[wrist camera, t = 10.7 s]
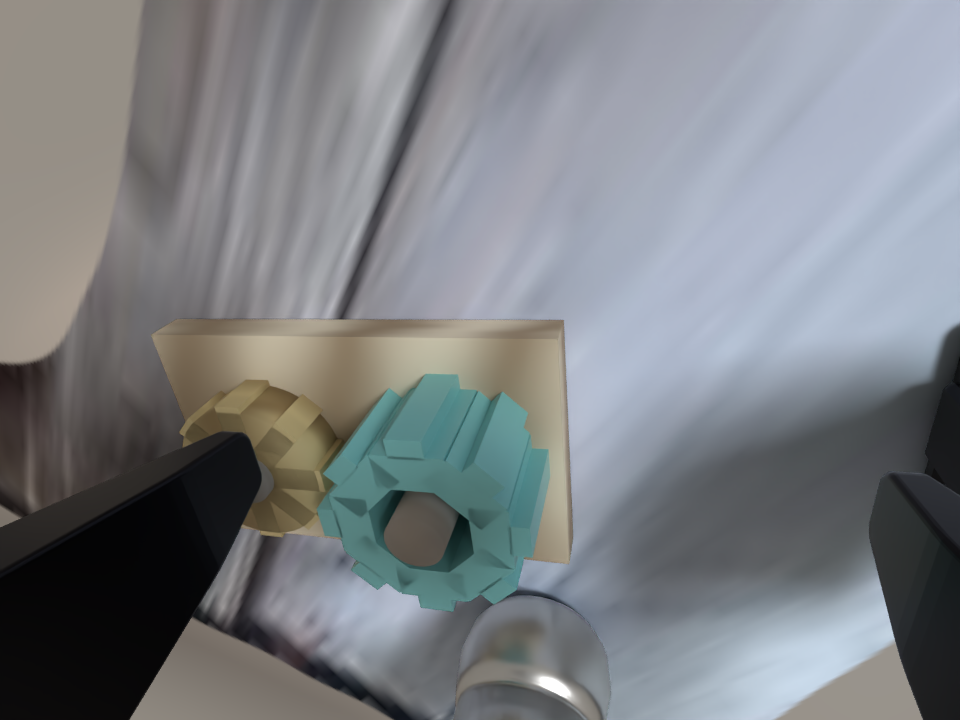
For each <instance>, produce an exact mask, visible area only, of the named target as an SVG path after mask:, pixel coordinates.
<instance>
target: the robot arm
mask: <svg viewBox="0 0 960 720" xmlns="http://www.w3.org/2000/svg"><path fill="white" fill-rule="evenodd" d="M925 454H926V456H927V458H928V459H929V461H928V465H927V468H926V471H925V474H923V473H912V472H895V471H890V472H888V473H886V474H884V475H883V477H882V478H881V481H880V484H879V487H878V491H877V495H876V499H875V503H874V506H873V510H872V514H871V518H870V522H869V538H870V543H871V547H872V551H873V555H874V559H875V563H876V567H877V571H878V575H879V579H880V583H881V587H882V591H883V595H884V598H885V602H886V606H887V610H888V614H889V618H890V622H891V626H892V630H893V634H894V638H895V642H896V645H897V649H898V652H899V656H900V659H901V662H902V665H903V668H904V671H905V674H906V676H907V679H908V682H909V685H910V687H911V690H912V692H913V695H914V698H915V700H916V703H917V705H918V708H919V711H920V713H921V716H922V718H923V720H960V359H959V362H958V365H957V369H956V372H955V375H954V379H953V382H952V383H950V384H949V385H948V386H947V387H946V388H945V389H944V390H943V393H942V396H941V399H940V403H939V406H938V409H937V413H936V416H935V420H934V423H933V426H932V430H931V433H930V436H929V440H928V443H927V447H926V450H925ZM261 483H262V472H261V469H260V466H259V463H258V460H257V457H256V454H255V451H254V449H253V446H252V443H251V440H250V438H249V437H248V436H247V435H246V434H245V433H243V432H233V431H221V432H217V433H215V434H213V435H210V436H208V437H206V438H203V439H201V440H199V441H197V442H194V443H192V444H190V445H188V446H185V447H183V448H181V449H178V450H176V451H174V452H172V453H169V454H167V455H165V456H162V457H160V458H158V459H156V460H153V461H151V462H149V463H146V464H144V465H142V466H140V467H137V468H135V469H133V470H130V471H128V472H126V473H124V474H121V475H119V476H117V477H114V478H112V479H110V480H108V481H105V482H103V483H101V484H98V485H96V486H94V487H92V488H89V489H87V490H85V491H82V492H80V493H78V494H76V495H73V496H71V497H69V498H67V499H64V500H62V501H60V502H57V503H55V504H53V505H51V506H48V507H46V508H44V509H41V510H39V511H37V512H35V513H32V514H30V515H28V516H25V517H23V518H21V519H19V520H16V521H14V522H12V523H9V524H7V525H5V526H3V527H0V720H130V718H131V716H132V715H133V713H134V711H135V710H136V708H137V706H138V705H139V703H140V702H141V700H142V698H143V697H144V695H145V693H146V692H147V690H148V688H149V687H150V685H151V683H152V682H153V680H154V678H155V677H156V675H157V674H158V672H159V670H160V669H161V667H162V665H163V664H164V662H165V660H166V659H167V657H168V655H169V654H170V652H171V650H172V649H173V647H174V646H175V644H176V642H177V641H178V639H179V637H180V636H181V634H182V632H183V631H184V629H185V627H186V626H187V624H188V622H189V621H190V619H191V618H192V616H193V614H194V613H195V611H196V609H197V608H198V606H199V604H200V603H201V601H202V599H203V598H204V596H205V594H206V593H207V591H208V590H209V588H210V586H211V585H212V583H213V581H214V579H215V578H216V576H217V574H218V572H219V571H220V569H221V567H222V565H223V563H224V561H225V559H226V557H227V555H228V553H229V551H230V549H231V547H232V545H233V543H234V541H235V539H236V537H237V535H238V533H239V530H240V528H241V526H242V524H243V522H244V520H245V518H246V516H247V514H248V512H249V510H250V508H251V506H252V504H253V502H254V500H255V497H256V495H257V493H258V491H259V489H260V487H261ZM943 484H945V485H946V486H944V485H943Z"/></svg>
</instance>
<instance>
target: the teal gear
mask: <svg viewBox="0 0 960 720" xmlns="http://www.w3.org/2000/svg"><path fill="white" fill-rule="evenodd" d="M527 415H528V412H526V411H525V410H524V409H523V408H522V407H520V406H519V405H518V404H517V403H516V402H514V401H513V400H512V399H511V398H510V397H508V396H507V395H506V394H505V393H504V392H501V393H500V394H499V395H498V396H497V397H496V398H495V399H494V400H492V401H491V400H489V399H488V398H487V397H486V396H485V395H483V394H482V393H481V392H480V391H478V392H477V390H467V389H460V384H459V377H458V374H425V376H424V377H423V379H422V380H421V382H420V383H419V385H418V386H417V388H412V389H410V390H409V391H408V392H407V393H406V394H405V395H404V396H403V398H401V397H400V396H399V395H397V394H396V393H395V392H394V391H392V390H391V389H390V388H389V389H388V390H387V391H386V392H385V393H384V394H383V395H382V396H381V398H380V399H379V400H378V401H377V402H376V403H375V404H374V405H373V407H372V408H371V409H370V411H369V412H368V413H367V415H366V416H365V417H364V419H363V420H362V422H361V423H360V424H359V426H358V427H357V428H356V430H355V431H354V432H353V434H352V435H351V437H350V438H349V439H348V441H347V442H346V443H345V445H344V446H343V447H342V449H341V450H340V451H339V453H338V454H337V456H336V457H335V458H334V460H333V461H332V462H331V464H330V465H329V466H328V468H327V469H326V471H325V472H324V473H323V474H324V475H325V476H326V477H328V478H329V479H330V480H331V481H333V482H334V485H333V486H332V488H331V489H330V490H329V492H328V493H327V495H326V496H325V498H324V499H323V501H322V502H321V503H320V505H319V506H318V508H317V512H318V515H319V519H320V522H321V525H322V528H323V532H324V535H325V536H330V537H340V538H341V540H342V544H343V547H344V551H346V553H347V554H349V555H350V556H351V557H353V558H354V559H355V560H356V562H355V563H354V565H353V567H352V569H351V570H352V571H353V572H354V573H356V574H357V575H358V576H360V577H361V578H362V579H364V580H365V581H366V582H368V583H369V584H370V585H372V586H373V587H374V588H376V589H377V590H378V589H379V588H381V587H382V586H383V585H384V584H386V583H388V584H389V585H390V586H392V587H393V588H394V589H396V590H397V591H398V592H402V594H409V595H417V596H418V598H419V602H420V607H421V608H428V609H435V610H442V611H450V612H453V611H454V608H455V605H456V602H457V601H464V602H468V601H469V602H470V601H471V600H473V599H474V598H476V597H477V596H479V595H482V596H483V597H484V598H486V599H487V600H488V601H490V602H491V603H492V604H496V603H497V602H499V601H501V600H502V599H504V598H505V597H507V596H508V595H510V594H511V593H513V592H514V591H516V590H517V587H518V582H519V578H520V574H521V569H522V565H523V561H524V557H530V558H533V554H534V549H535V545H536V540H537V535H538V531H539V526H540V522H541V517H542V512H543V508H544V503H545V498H546V494H547V489H548V484H549V480H550V463H549V449H535V448H532V442H531V435H529V434H530V433H529V432H528V431H527V430H526V429H525V428H524V425H525V421H526V418H527ZM405 491H415V492H428V493H435V494H436V495H437V496H438V497H440V498H441V499H442V500H443V501H445V502H446V503H447V504H449V505H450V506H451V507H452V508H454V509H455V510H456V511H457V512H459V513H460V514H459V516H458V519H457V521H456V524H455V526H454V529H453V532H452V534H451V537H450V539H449V542H448V544H447V547H446V550H445V552H444V555H443V557H442V559H441V560H440V561H439V562H438V563H436V564H434V565H431V566H426V567H420V566H414V565H410V564H407V563H405V562H403V561H401V560H400V559H398V558H397V557H396V556H394V555H393V554H392V553H391V552H390V550H389V549H388V547H387V546H386V544H385V541H384V531H385V529H386V527H387V525H388V523H389V521H390V519H391V517H392V516H393V514H394V512H395V510H396V508H397V506H398V504H399V502H400V500H401V498H402V497H403V495H404V493H405Z"/></svg>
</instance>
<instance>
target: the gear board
mask: <svg viewBox="0 0 960 720" xmlns="http://www.w3.org/2000/svg"><path fill="white" fill-rule="evenodd" d="M151 336H152V339H153V341H154V344H155V346H156V349H157V351H158V354H159V357H160V359H161V362H162V364H163V367H164V369H165V372H166V374H167V377H168V379H169V382H170V384H171V387H172V389H173V392H174V394H175V397H176V399H177V402H178V404H179V407H180V409H181V412H182V414H183V417H184V419H185V424H184V426H183V427H182V429H181V430H180V432H179V433H180V434H181V435H183V436H184V440H183V447H185V446H188V445H190V444H192V443H194V442H197V441H199V440H201V439H203V438H206V437H208V436H210V435H213V434H215V433H217V432H221V431H233V432H243V433H245V434H246V435H247V436H248V437H249V438H250V440H251V443H252V446H253V449H254V451H255V454H256V457H257V460H258V463H259V466H260V469H261V472H262V483H261V487H260V489H259V491H258V493H257V495H256V497H255V500H254V502H253V504H252V506H251V508H250V510H249V512H248V514H247V516H246V518H245V520H244V522H243V524H242V526H241V528H244V529H253V530H260V533H261V535H267V536H276V537H283V536H284V534H285V533H290V534H299V535H308V536H317V537H326V538H335V539H341V538H340V537H330V536H325V535H324V532H323V528H322V525H321V522H320V519H319V515H318V512H317V508H318V506H319V505H320V503H321V502H322V501H323V499H324V498H325V496H326V495H327V493H328V492H329V490H330V489H331V488H332V486H333V485H334V482H333V481H331V480H330V479H329V478H328V477H326V476H325V475H324V474H323V473H324V472H325V471H326V469H327V468H328V466H329V465H330V464H331V462H332V461H333V460H334V458H335V457H336V456H337V454H338V453H339V451H340V450H341V449H342V447H343V446H344V445H345V443H346V442H347V441H348V439H349V438H350V437H351V435H352V434H353V432H354V431H355V430H356V428H357V427H358V426H359V424H360V423H361V422H362V420H363V419H364V417H365V416H366V415H367V413H368V412H369V411H370V409H371V408H372V407H373V405H374V404H375V403H376V402H377V401H378V400H379V399H380V398H381V396H382V395H383V394H384V393H385V392H386V391H387V390H388V389H389V388H390V389H391V390H392V391H394V392H395V393H396V394H397V395H399V396H400V397H401V398H403V396H404V395H405V394H406V393H407V392H408V391H409V390H410V389H412V388H417V386H418V385H419V383H420V382H421V380H422V379H423V377H424V376H425V374H458V377H459V384H460V389H467V390H477V392H478V391H480V392H481V393H482V394H483V395H485V396H486V397H487V398H488V399H489V400H491V401H492V400H494V399H495V398H496V397H497V396H498V395H499V394H500V393H501V392H504V393H505V394H506V395H507V396H508V397H510V398H511V399H512V400H513V401H514V402H516V403H517V404H518V405H519V406H520V407H522V408H523V409H524V410H525V411H526V412H528V415H527V418H526V421H525V425H524V428H525V429H526V430H527V431H528V432H529V433H530V434H529V435H531V442H532V448H535V449H549V463H550V480H549V484H548V489H547V494H546V498H545V503H544V508H543V512H542V517H541V522H540V526H539V531H538V535H537V540H536V545H535V549H534V554H533V558H530V557H524V559H527V560H536V561H545V562H554V563H564V564H569V562H570V555H571V548H572V541H573V522H572V499H571V477H570V454H569V431H568V408H567V385H566V362H565V340H564V320H318V319H176V320H174V321H173V322H171V323H169V324H168V325H166V326H165V327H163V328H161V329H160V330H158V331H156V332H155V333H153V334H151ZM183 447H182V448H183ZM459 514H460V513H459V512H457V511H456V510H455V509H454V508H452V507H451V506H450V505H449V504H447V503H446V502H445V501H443V500H442V499H441V498H440V497H438V496H437V495H436V494H435V493H428V492H415V491H405V493H404V495H403V497H402V498H401V500H400V502H399V504H398V506H397V508H396V510H395V512H394V514H393V516H392V517H391V519H390V521H389V523H388V525H387V527H386V529H385V531H384V541H385V544H386V546H387V547H388V549H389V550H390V552H391V553H392V554H393V555H394V556H396V557H397V558H398V559H400V560H401V561H403V562H405V563H407V564H410V565H414V566H420V567H426V566H431V565H434V564H436V563H438V562H439V561H440V560H441V559H442V557H443V555H444V552H445V550H446V547H447V544H448V542H449V539H450V537H451V534H452V532H453V529H454V526H455V524H456V521H457V519H458V516H459Z"/></svg>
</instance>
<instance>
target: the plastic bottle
mask: <svg viewBox="0 0 960 720" xmlns="http://www.w3.org/2000/svg"><path fill="white" fill-rule="evenodd" d="M610 698H611V683H610V675H609V667H608V659H607V654H606V651H605V648H604V646H603V644H602V643H601V641H600V639H599V638H598V636H597V635H596V633H595V632H594V630H593V629H592V627H591V625H590V624H589V623H588V622H587V621H586V620H585V619H584V618H583V617H582V616H581V615H579V614H578V613H577V612H575V611H574V610H572V609H571V608H569V607H567V606H565V605H564V604H561V603H559V602H556V601H554V600H551V599H547V598H543V597H537V596H530V595H524V596H513V597H508V598H505V599H502V600H501V601H499V602H497V603H496V604H494V605H492V606H491V607H489V608H488V609H486V610H485V611H483V612H482V613H481V614H480V615H479V616H478V617H477V619H476V620H475V622H474V624H473V626H472V628H471V630H470V632H469V634H468V636H467V638H466V640H465V642H464V645H463V647H462V650H461V654H460V661H459V668H458V675H457V684H456V701H455V706H456V708H455V713H454V719H453V720H607V714H608V709H609V703H610Z"/></svg>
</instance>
